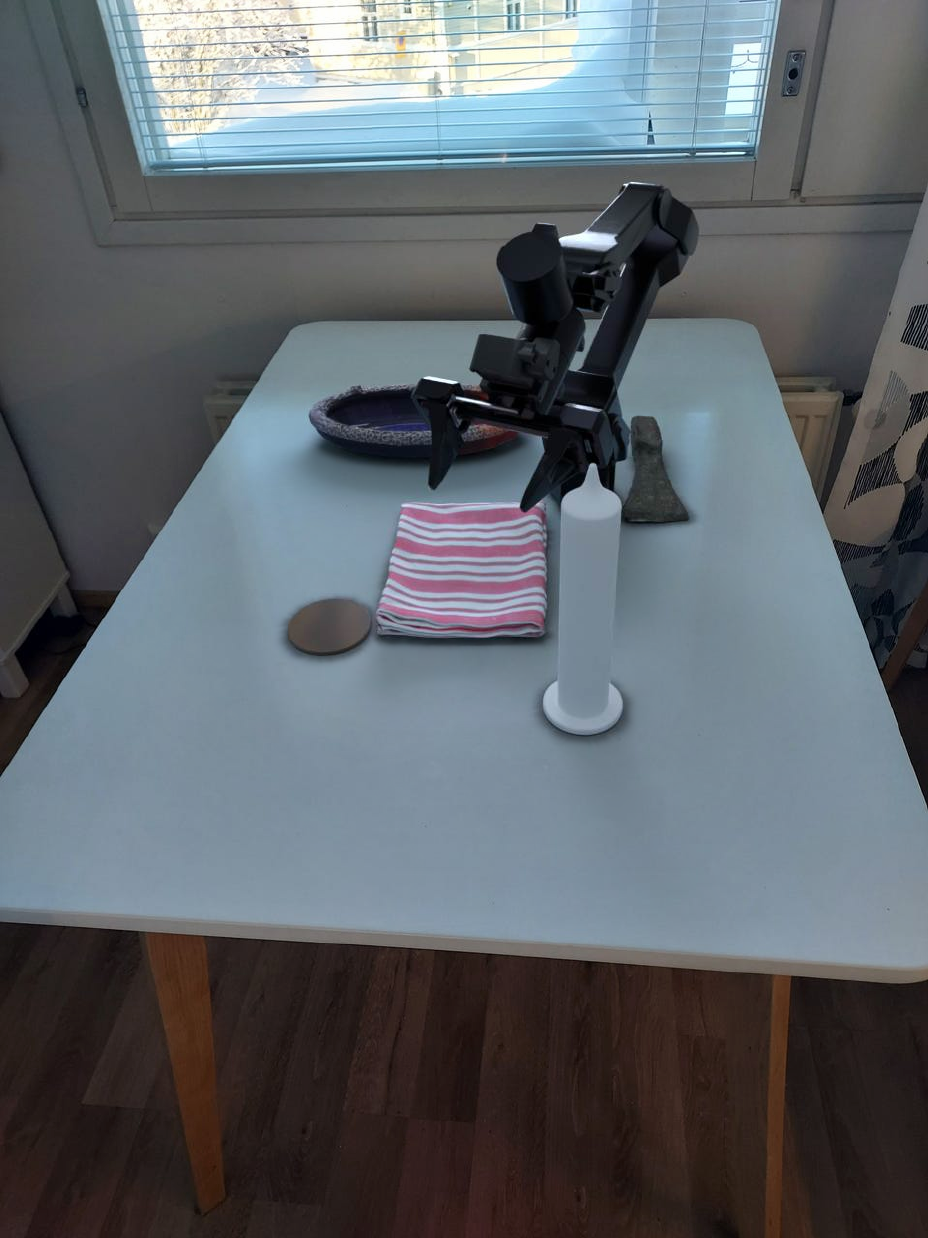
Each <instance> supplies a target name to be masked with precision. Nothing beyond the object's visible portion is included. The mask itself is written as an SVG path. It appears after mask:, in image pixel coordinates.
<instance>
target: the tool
mask: <svg viewBox="0 0 928 1238" xmlns="http://www.w3.org/2000/svg"><path fill="white" fill-rule="evenodd" d="M629 429H630V437H629V439H630V445H631V456H632V460H633V463H634V465H635V469H634V475H633V479H632V483H631V487H630V488H629V492H628V495H627V498H626V499H625V502H624V504H623V506H622V508H621V518H625V519H627V520H626V521H627V522H631V523H642V522H646V523H647V522H653V523H654V522H655V523H666V522H679V521H688V519H689V518H690V516H689V515H690V514H689V513H688V511H687V509H686V507H685V505H684V504H683V502H682V500H681V499H680V498H679V496H678V494H677V493H676V491H675V489H674V487H673V486H672V482H671V480H670V478H669V476H668V473H667V470H666V468H665V465H664V461H663V446H664V443H663V442H664V440H663V438H662V431H661V429H660V426H659V424H658V421H657V420H656V418H655V417H654V416H650V415H634V416H633V417H631V419H630V427H629Z"/></svg>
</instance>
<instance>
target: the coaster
mask: <svg viewBox="0 0 928 1238" xmlns="http://www.w3.org/2000/svg"><path fill="white" fill-rule="evenodd" d="M287 626H288V627H287V635H288V638H289V641H290V642H291V644H292V645H293V646H294V647H295V648H296V649H298V650H299V651H302V652H303V653H306V654H310V655H315V656H331V655H337V654H341V653H344V652H347V651H349V650H351V649H353V648H355V647H357V646H359V644H362V642H363V641H364V640H365V639H366V638H367V637H368V635H369V634H370V631H371V630H372V629H371V628H372V617H371V614H370V612H369V611H368V609H367V608H366V607H364V605H362V604H361V603H359V602H356V601H355V600H351V599H345V598H327V599H322V600H317V601H315V602H312V603H310V604H308V605H306V606H304V607H302V608H301V609H300V610H298V611H297V612H296V613H295V614H294V615H293V616H292V617H291V619H290V620H289V622H288V625H287Z"/></svg>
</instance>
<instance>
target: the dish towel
mask: <svg viewBox="0 0 928 1238" xmlns="http://www.w3.org/2000/svg"><path fill="white" fill-rule="evenodd" d="M520 503H521V502H499V501H498V502H497V501H496V502H468V503H467V502H464V503H453V502H452V503H429V502H428V503H427V502H417V501H416V502H403V503H402V504H401V506H400V507H401V513H400V515H399V521H398V523H397V531H396V534H395V535H396V539H395V544H394V547H393V549H392V550H391V556H390V557H389V566H388V577H387V580H386V583H385V584H384V585H385V586H384V588H383V590H382V593H381V598H380V600H379V602H378V607H377V609H376V616H375V621H376V623H377V627H376V628H377V634H378V635H380V636H410V637H417V638H430V639H431V638H435V639H451V638H479V639H481V638H482V639H483V638H493V637H510V638H511V637H513V638H515V637H519V638H521V637H522V638H539V637H542V636H543V635H544V634H545V633H546V627H545V619H546V616H547V609H548V595H547V580H548V579H547V578H548V577H547V574H548V567H547V564H548V563H547V559H546V550H547V540H548V538H547V537H548V535H547V522H546V521H547V519H546V518H547V514H548V510H547V502H546V501H543V500H541V501H539V502H538V503H537V504H536V505H535V506H533V507H532V508H531V509H530V510H529V511H528V512H526V513H523V512H521V510H520Z"/></svg>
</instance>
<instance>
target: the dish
mask: <svg viewBox="0 0 928 1238" xmlns="http://www.w3.org/2000/svg"><path fill="white" fill-rule="evenodd" d="M417 383H418V382H415V383H400V384H387V385H374V386H361V384H354V385H352V386H351V387H350V388H349V389H347V390H344V391H342V392H339V393H335V394H333V395H330V396H327V397H325V398H323V399H321V400H318V402H316V403H315V404H314V405H312V407H311V408H310V410H309V411H308V419H309V422H310V424H311V425H312V426H313V427H314V428H315V430H316V431H317V433H318V434H319V436H321V437H322V438H323V439H325V440H326V441H327V442H329V443H330V444H332V445H334V446H336V447H339V448H341V449H344V450H348V451H350V452H354V453H359V454H366V455H373V456H380V457H389V458H411V459H412V458H414V459H415V458H420V459H421V458H430V456H431V443H432V437H431V430H430V429H429V428H427V426H426V424H425V422H424V421H423V419H422V417H421V415H420V413H419V411H418V409H417V408H416V406H415V404H414V402H413V400H412V398H411V395H412V393H413V391H414V389H415V387H416V385H417ZM460 384H461V386H462V388H463V391H464V393H465V395H466V397H467V399H472V400H477V401H482V402H486V401H487V399H488V395H487V394H484V393H482V391H481V389H480V386H479V384H472V383H460ZM519 434H521V432H516V431H511V430H507V429H504V428H499V427H494V426H490V425H485V424H480V423H475V422H471V424H470V426H469V428H468V430H467V432H466V433H464V434H462V435H461V436H462V438H463V440H464V444H463V446H462V447H461V449H460V451H459V453H458V455H457V456H462V455H469V454H474V453H480V452H483V451H488V450H491V449H493V448H496V447H497V446H500V445H502V444H504V443H507V442H510V441H512V440H514V439H515V438H516V437H517V436H519Z"/></svg>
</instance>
